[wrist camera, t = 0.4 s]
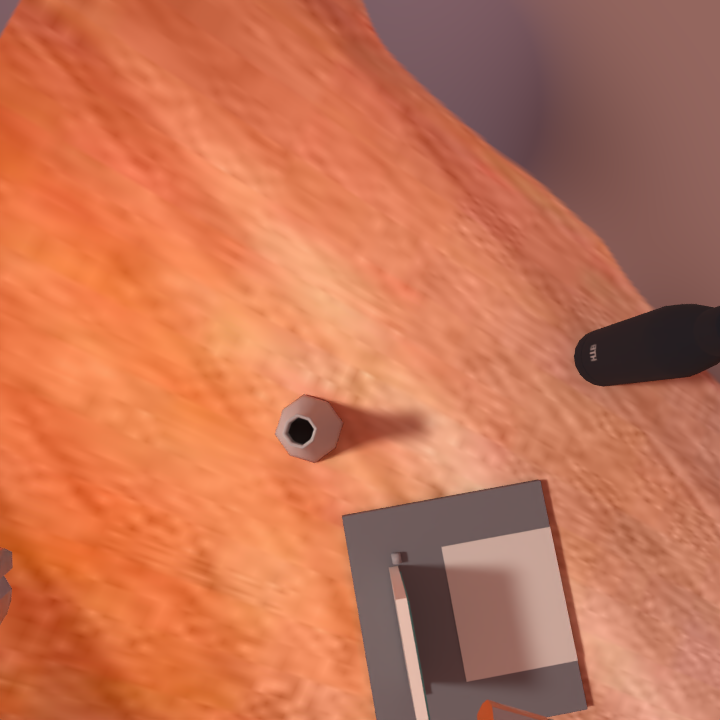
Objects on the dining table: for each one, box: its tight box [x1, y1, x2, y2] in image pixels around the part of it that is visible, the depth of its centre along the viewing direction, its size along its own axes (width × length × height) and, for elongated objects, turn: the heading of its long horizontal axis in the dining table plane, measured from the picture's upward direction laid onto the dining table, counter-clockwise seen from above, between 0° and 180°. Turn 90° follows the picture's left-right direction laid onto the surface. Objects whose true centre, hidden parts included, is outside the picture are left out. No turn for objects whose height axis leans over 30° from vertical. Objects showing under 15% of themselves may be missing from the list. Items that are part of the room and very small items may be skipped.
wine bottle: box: [574, 304, 720, 386], centre depth 46 cm, size 6×6×30 cm
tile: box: [389, 566, 431, 720], centre depth 52 cm, size 12×1×10 cm, turn 10°
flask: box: [275, 395, 343, 463], centre depth 55 cm, size 7×7×10 cm
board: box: [342, 480, 587, 720], centre depth 57 cm, size 24×22×2 cm
